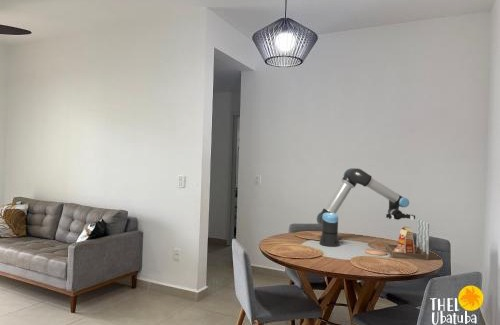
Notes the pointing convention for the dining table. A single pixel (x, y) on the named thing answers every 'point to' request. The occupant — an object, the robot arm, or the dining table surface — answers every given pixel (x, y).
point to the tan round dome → (375, 252)
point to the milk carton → (406, 240)
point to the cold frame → (420, 247)
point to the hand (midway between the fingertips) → (403, 218)
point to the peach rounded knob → (397, 250)
